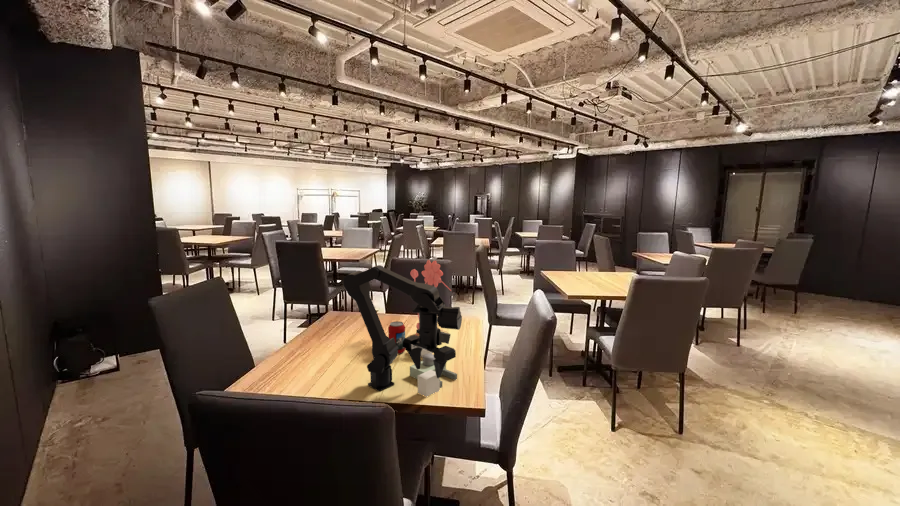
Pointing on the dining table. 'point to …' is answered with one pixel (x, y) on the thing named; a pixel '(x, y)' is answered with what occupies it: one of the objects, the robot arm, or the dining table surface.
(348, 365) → the dining table surface
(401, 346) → the beverage can
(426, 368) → the wall plug adapter
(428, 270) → the figurine
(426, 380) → the upright cream block
